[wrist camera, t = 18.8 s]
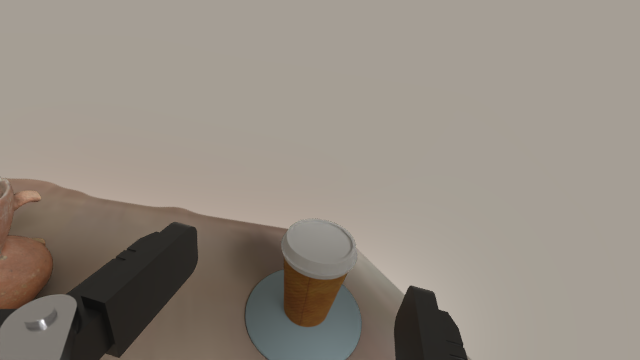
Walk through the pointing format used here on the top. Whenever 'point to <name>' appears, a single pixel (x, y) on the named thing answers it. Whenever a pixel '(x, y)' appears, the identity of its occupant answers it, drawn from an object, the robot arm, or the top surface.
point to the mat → (297, 341)
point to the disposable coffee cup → (314, 268)
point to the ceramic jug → (20, 254)
